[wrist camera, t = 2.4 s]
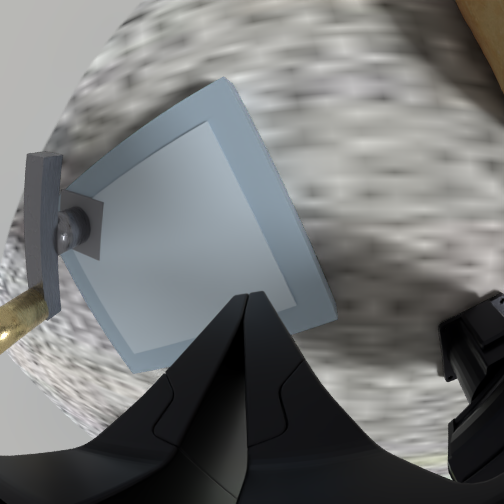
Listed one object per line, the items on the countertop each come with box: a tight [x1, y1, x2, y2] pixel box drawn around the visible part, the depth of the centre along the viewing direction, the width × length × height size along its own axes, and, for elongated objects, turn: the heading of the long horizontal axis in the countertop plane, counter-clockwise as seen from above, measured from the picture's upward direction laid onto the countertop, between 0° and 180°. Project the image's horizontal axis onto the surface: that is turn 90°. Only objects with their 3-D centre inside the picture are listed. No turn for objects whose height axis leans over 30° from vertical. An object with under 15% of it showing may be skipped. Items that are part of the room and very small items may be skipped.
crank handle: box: [0, 151, 91, 354], centre depth 15 cm, size 3×11×10 cm, turn 165°
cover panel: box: [58, 77, 338, 374], centre depth 20 cm, size 16×18×2 cm
